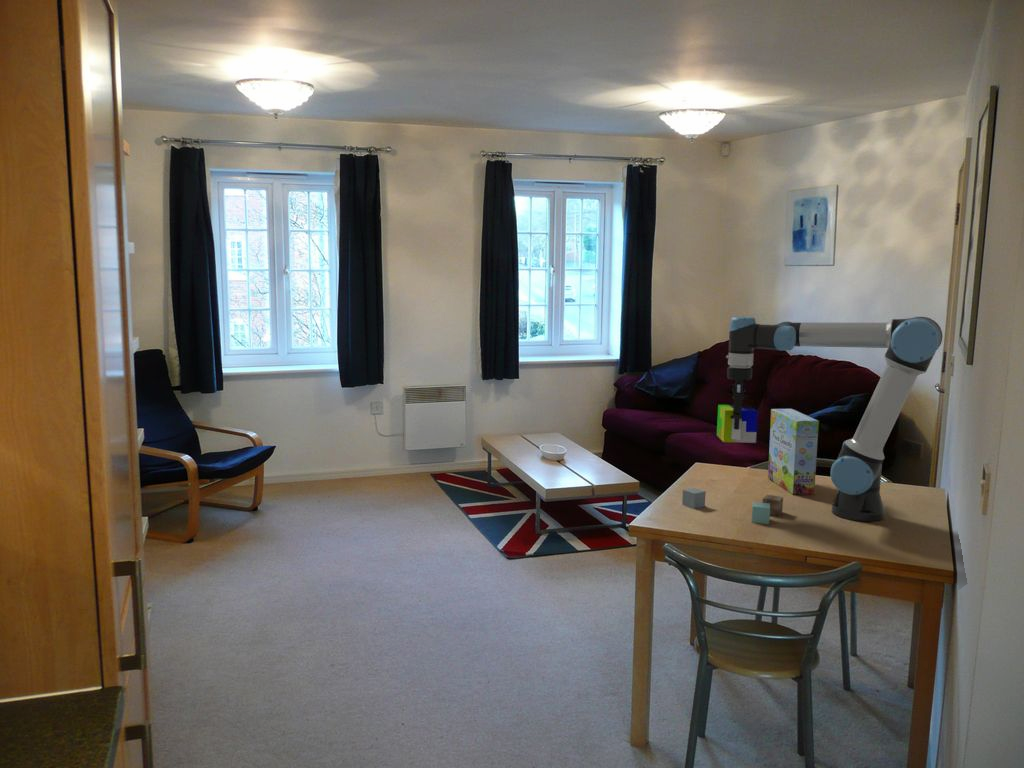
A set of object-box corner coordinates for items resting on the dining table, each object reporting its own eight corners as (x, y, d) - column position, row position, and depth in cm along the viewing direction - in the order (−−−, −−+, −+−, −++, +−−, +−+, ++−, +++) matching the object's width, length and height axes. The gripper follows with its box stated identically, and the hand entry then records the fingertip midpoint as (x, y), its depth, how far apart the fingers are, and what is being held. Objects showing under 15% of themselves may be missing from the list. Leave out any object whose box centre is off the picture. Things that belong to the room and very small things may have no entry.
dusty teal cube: (768, 519, 258) (769, 503, 257) (769, 524, 253) (770, 508, 253) (751, 517, 260) (752, 501, 259) (751, 522, 255) (752, 506, 254)
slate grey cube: (704, 506, 270) (705, 491, 270) (693, 509, 267) (694, 493, 267) (693, 502, 274) (693, 487, 274) (682, 505, 272) (682, 489, 271)
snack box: (765, 478, 306) (769, 408, 302) (788, 478, 307) (793, 408, 303) (791, 495, 284) (796, 420, 280) (815, 495, 285) (821, 419, 281)
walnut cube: (782, 512, 265) (783, 497, 265) (778, 516, 261) (779, 500, 260) (766, 509, 268) (767, 494, 267) (761, 513, 264) (762, 498, 263)
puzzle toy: (755, 442, 263) (757, 410, 261) (723, 442, 263) (725, 410, 262) (747, 435, 273) (749, 405, 271) (716, 435, 273) (718, 404, 271)
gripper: (728, 361, 277) (724, 427, 280) (726, 370, 254) (722, 442, 258) (752, 362, 275) (748, 429, 278) (752, 371, 252) (748, 444, 256)
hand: (736, 435), depth 268 cm, fingers closed on puzzle toy, 11 cm apart
